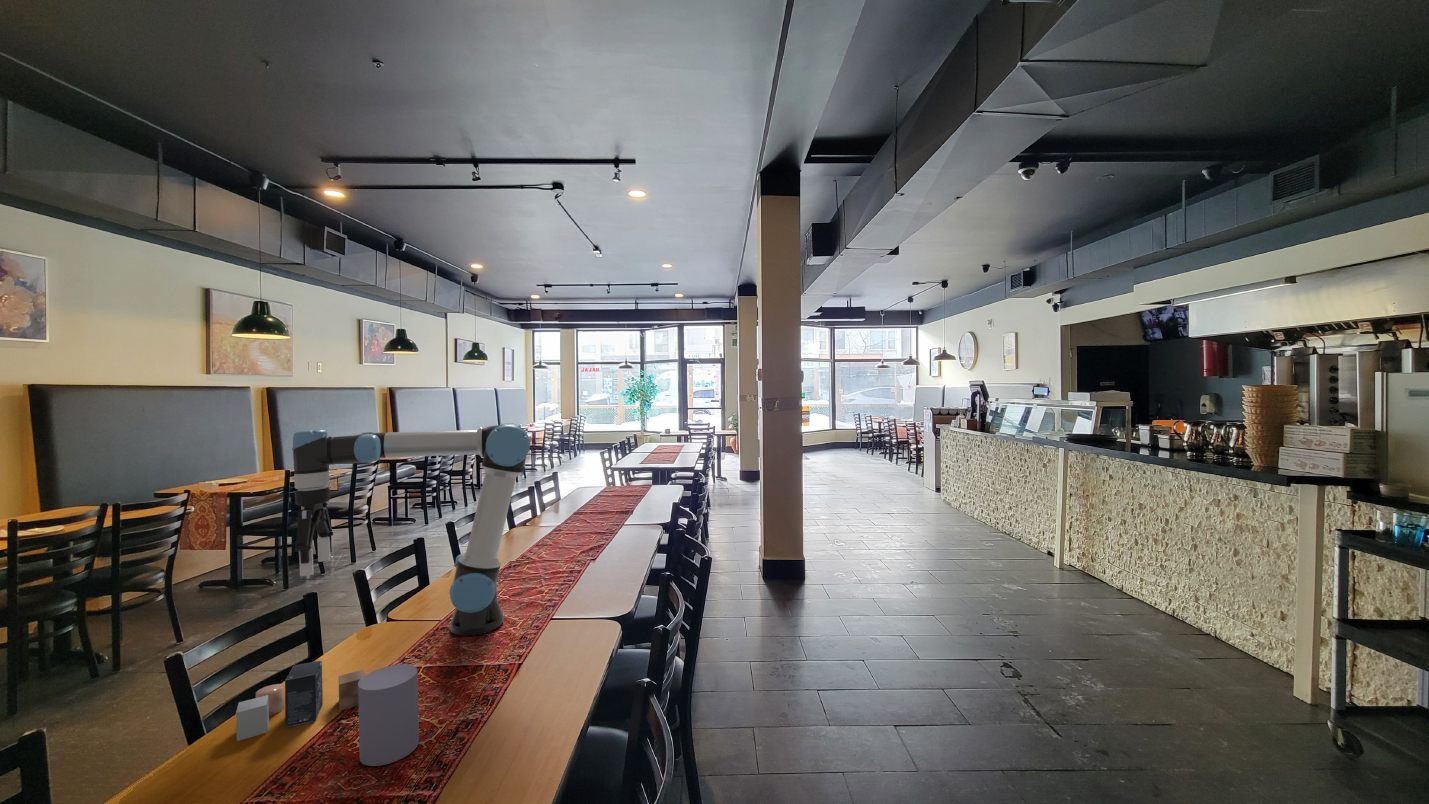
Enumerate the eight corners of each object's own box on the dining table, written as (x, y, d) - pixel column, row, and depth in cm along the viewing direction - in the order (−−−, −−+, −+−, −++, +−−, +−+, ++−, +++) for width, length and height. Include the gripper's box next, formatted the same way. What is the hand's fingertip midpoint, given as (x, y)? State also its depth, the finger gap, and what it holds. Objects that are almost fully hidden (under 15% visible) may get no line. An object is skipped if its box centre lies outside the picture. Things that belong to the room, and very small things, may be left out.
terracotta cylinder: (288, 704, 129) (288, 682, 129) (276, 716, 124) (275, 693, 124) (264, 706, 128) (264, 685, 128) (251, 718, 124) (250, 696, 123)
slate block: (268, 721, 122) (268, 694, 122) (267, 732, 118) (266, 704, 118) (239, 730, 119) (238, 702, 119) (236, 741, 115) (236, 712, 115)
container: (404, 765, 106) (402, 688, 106) (348, 769, 106) (346, 691, 105) (427, 733, 117) (426, 662, 117) (376, 736, 116) (375, 665, 116)
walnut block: (364, 694, 133) (363, 669, 133) (365, 703, 129) (365, 677, 129) (339, 701, 130) (338, 676, 130) (339, 710, 126) (339, 684, 126)
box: (316, 721, 122) (315, 673, 122) (284, 728, 119) (283, 680, 119) (323, 704, 129) (322, 659, 129) (293, 710, 127) (292, 664, 126)
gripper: (312, 483, 157) (315, 557, 157) (276, 497, 133) (280, 584, 134) (342, 480, 159) (346, 553, 160) (312, 494, 136) (316, 579, 136)
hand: (316, 567), depth 147 cm, fingers open, 13 cm apart
